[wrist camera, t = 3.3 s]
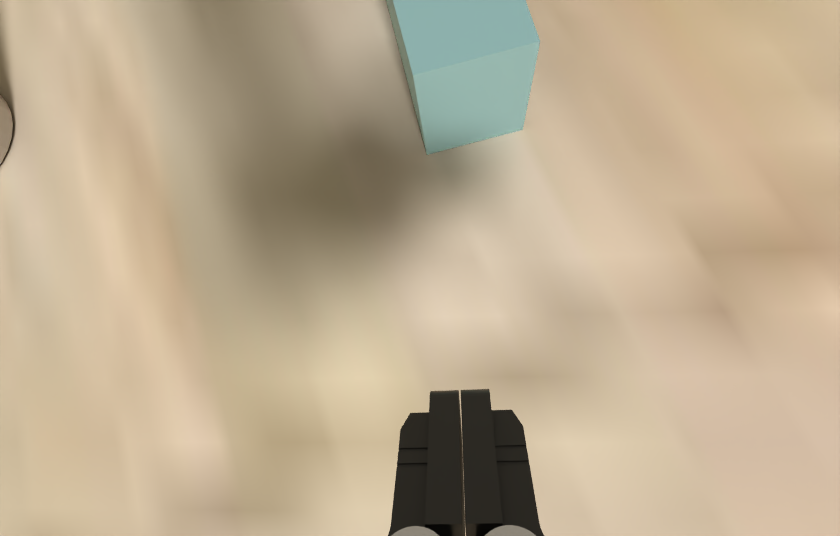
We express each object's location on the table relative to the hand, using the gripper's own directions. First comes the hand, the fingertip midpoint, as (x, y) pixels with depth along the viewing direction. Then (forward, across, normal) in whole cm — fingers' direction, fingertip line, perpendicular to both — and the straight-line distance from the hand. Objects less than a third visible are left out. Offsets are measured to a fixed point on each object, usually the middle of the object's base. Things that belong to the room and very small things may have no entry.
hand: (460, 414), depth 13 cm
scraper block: (+26, 0, -5) cm, 27 cm away
